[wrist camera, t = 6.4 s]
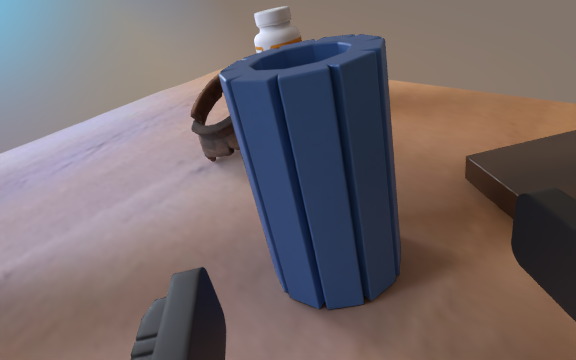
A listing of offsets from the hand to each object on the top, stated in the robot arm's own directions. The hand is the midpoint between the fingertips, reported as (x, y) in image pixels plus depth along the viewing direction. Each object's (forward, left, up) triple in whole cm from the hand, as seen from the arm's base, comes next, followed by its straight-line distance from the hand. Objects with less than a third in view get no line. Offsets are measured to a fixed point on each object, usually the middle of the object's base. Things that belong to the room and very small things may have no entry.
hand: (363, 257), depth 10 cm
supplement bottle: (+29, +25, -6) cm, 39 cm away
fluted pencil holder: (+5, +5, -6) cm, 9 cm away
